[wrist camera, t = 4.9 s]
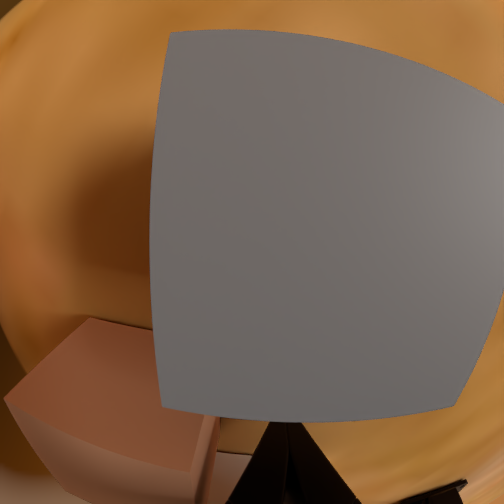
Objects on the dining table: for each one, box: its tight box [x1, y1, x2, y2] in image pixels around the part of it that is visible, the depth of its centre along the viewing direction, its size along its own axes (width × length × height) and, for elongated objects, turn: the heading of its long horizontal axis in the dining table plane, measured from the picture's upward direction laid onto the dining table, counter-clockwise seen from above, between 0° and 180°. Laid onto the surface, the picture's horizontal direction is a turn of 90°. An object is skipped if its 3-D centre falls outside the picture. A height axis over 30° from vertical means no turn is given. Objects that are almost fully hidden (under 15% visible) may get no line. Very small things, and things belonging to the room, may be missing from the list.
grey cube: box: [149, 30, 504, 422], centre depth 5 cm, size 4×4×4 cm
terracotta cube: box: [4, 317, 220, 504], centre depth 6 cm, size 4×4×4 cm
